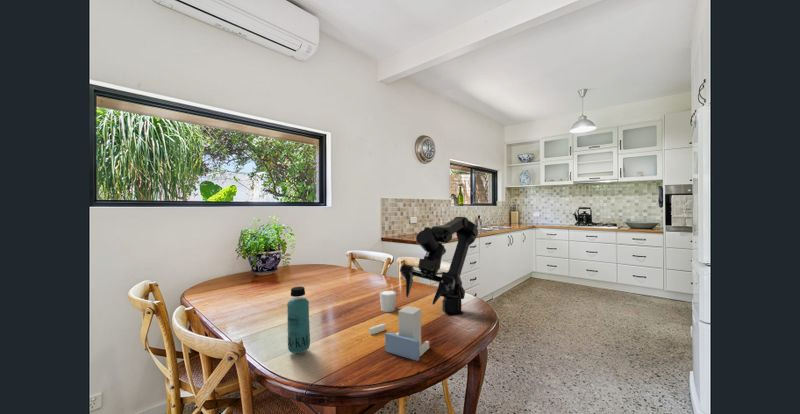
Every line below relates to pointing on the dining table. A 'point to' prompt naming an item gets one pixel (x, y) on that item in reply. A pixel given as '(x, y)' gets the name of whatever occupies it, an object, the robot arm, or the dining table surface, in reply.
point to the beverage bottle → (298, 321)
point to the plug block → (410, 323)
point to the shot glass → (388, 300)
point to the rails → (378, 329)
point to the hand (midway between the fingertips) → (419, 300)
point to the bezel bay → (404, 346)
